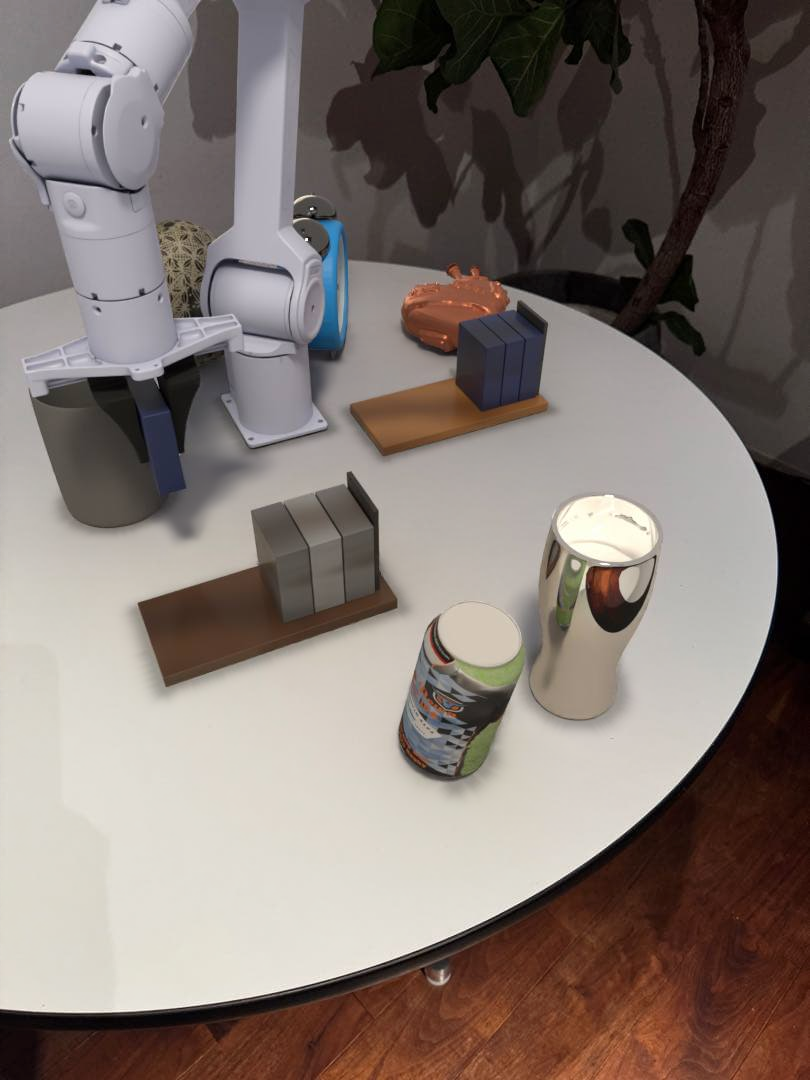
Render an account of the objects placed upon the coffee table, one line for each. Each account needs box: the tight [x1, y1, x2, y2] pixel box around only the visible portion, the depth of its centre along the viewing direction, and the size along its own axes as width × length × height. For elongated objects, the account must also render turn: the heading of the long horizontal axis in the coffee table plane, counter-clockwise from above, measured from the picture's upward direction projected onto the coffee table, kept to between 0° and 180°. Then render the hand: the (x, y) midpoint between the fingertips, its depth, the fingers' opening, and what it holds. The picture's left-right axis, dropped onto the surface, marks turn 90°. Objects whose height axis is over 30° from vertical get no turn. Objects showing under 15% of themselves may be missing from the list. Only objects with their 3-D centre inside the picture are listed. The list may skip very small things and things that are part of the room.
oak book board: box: [349, 299, 549, 457], centre depth 84 cm, size 8×18×9 cm, turn 115°
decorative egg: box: [155, 219, 225, 367], centre depth 88 cm, size 12×12×15 cm
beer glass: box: [529, 491, 664, 721], centre depth 56 cm, size 7×7×15 cm
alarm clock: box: [276, 192, 349, 360], centre depth 91 cm, size 13×6×15 cm, turn 178°
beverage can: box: [398, 599, 526, 779], centre depth 54 cm, size 6×7×12 cm
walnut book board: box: [137, 470, 398, 688], centre depth 64 cm, size 8×18×9 cm, turn 116°
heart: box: [400, 262, 511, 353], centre depth 97 cm, size 6×12×15 cm
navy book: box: [126, 377, 187, 496], centre depth 64 cm, size 6×2×7 cm, turn 26°
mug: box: [28, 375, 170, 528], centre depth 74 cm, size 14×9×12 cm
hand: (159, 451), depth 65 cm, fingers closed on navy book, 2 cm apart
